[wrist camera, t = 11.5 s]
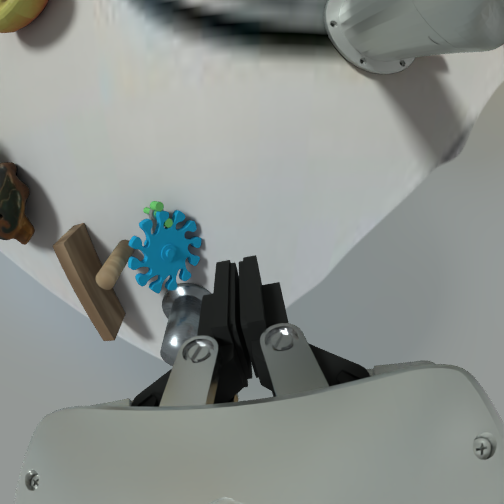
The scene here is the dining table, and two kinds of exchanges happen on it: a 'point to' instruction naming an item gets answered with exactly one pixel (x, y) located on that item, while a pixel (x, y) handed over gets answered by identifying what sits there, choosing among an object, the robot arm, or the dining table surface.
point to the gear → (164, 248)
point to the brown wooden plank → (89, 281)
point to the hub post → (181, 317)
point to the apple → (19, 13)
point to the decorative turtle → (13, 206)
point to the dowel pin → (114, 265)
